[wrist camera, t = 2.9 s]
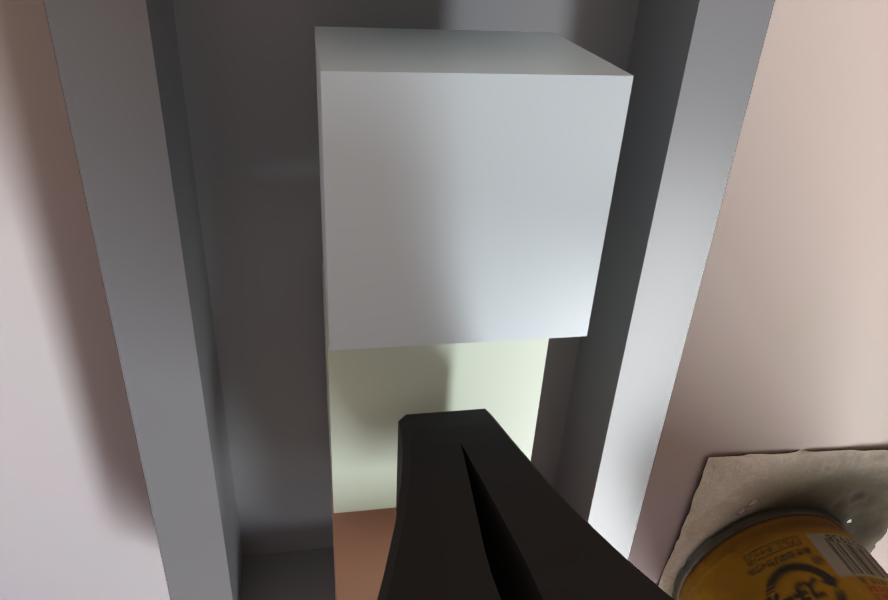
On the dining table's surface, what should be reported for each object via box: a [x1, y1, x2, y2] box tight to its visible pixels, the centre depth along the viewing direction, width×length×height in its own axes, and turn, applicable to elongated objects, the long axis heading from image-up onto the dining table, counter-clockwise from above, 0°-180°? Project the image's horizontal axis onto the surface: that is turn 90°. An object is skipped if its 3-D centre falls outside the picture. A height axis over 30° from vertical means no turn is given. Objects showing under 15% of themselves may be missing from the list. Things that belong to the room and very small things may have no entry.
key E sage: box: [322, 261, 549, 513], centre depth 13 cm, size 3×3×3 cm
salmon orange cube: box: [331, 485, 396, 600], centre depth 14 cm, size 3×3×3 cm
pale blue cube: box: [315, 26, 634, 350], centre depth 9 cm, size 3×3×3 cm
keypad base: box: [44, 0, 775, 600], centre depth 13 cm, size 10×19×3 cm, turn 177°
